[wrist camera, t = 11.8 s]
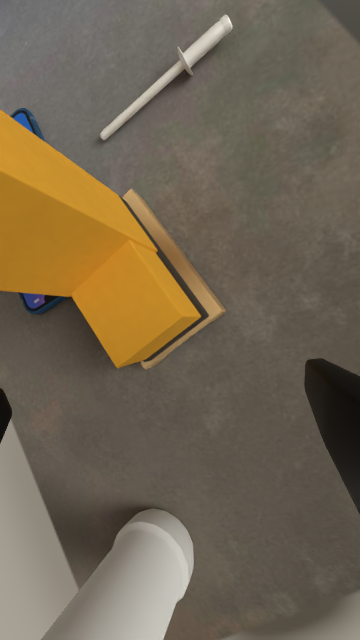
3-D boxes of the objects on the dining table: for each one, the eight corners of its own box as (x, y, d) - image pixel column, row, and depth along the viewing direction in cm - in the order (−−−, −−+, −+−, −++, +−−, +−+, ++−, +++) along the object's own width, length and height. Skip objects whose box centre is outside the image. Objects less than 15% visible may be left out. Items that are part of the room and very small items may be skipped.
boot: (77, 248, 20) (-315, 122, 7) (126, 200, 19) (-236, -64, 6) (151, 360, 19) (-180, 470, 5) (210, 315, 17) (-30, 314, 4)
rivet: (105, 135, 22) (113, 152, 21) (89, 120, 20) (98, 139, 20) (226, 25, 18) (239, 43, 18) (219, -2, 17) (232, 17, 17)
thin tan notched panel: (227, 311, 19) (222, 311, 17) (155, 366, 20) (144, 369, 19) (142, 197, 20) (130, 188, 19) (82, 255, 22) (67, 251, 21)
